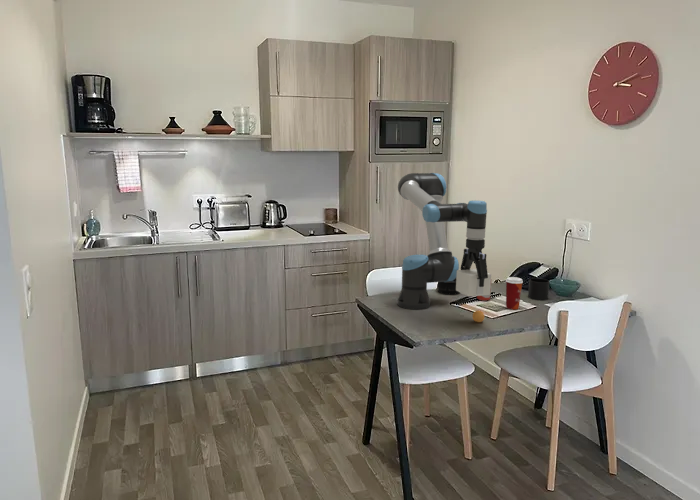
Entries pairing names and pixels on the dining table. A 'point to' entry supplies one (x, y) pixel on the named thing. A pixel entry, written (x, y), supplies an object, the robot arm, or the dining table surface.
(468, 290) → the plain off-white cube
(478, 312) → the ball
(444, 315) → the dining table surface
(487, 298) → the beverage can
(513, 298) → the paper cup
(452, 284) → the container
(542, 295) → the mug
